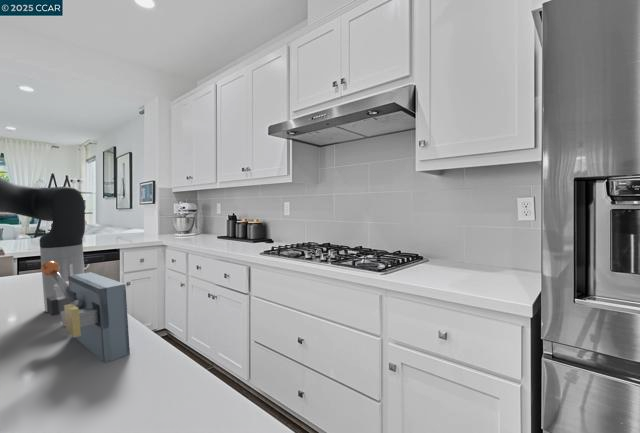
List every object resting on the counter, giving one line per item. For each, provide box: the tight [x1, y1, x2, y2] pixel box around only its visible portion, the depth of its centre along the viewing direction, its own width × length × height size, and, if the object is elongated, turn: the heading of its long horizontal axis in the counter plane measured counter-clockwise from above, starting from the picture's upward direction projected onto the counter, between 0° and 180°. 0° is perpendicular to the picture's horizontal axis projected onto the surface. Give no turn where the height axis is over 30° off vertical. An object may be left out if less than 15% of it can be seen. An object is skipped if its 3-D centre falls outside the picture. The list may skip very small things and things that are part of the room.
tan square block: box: [64, 304, 99, 339], centre depth 57 cm, size 5×4×5 cm
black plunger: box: [47, 296, 70, 317], centre depth 66 cm, size 4×4×3 cm
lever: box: [40, 261, 84, 310], centre depth 61 cm, size 3×3×10 cm
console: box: [68, 271, 131, 364], centre depth 65 cm, size 20×5×13 cm, turn 50°
